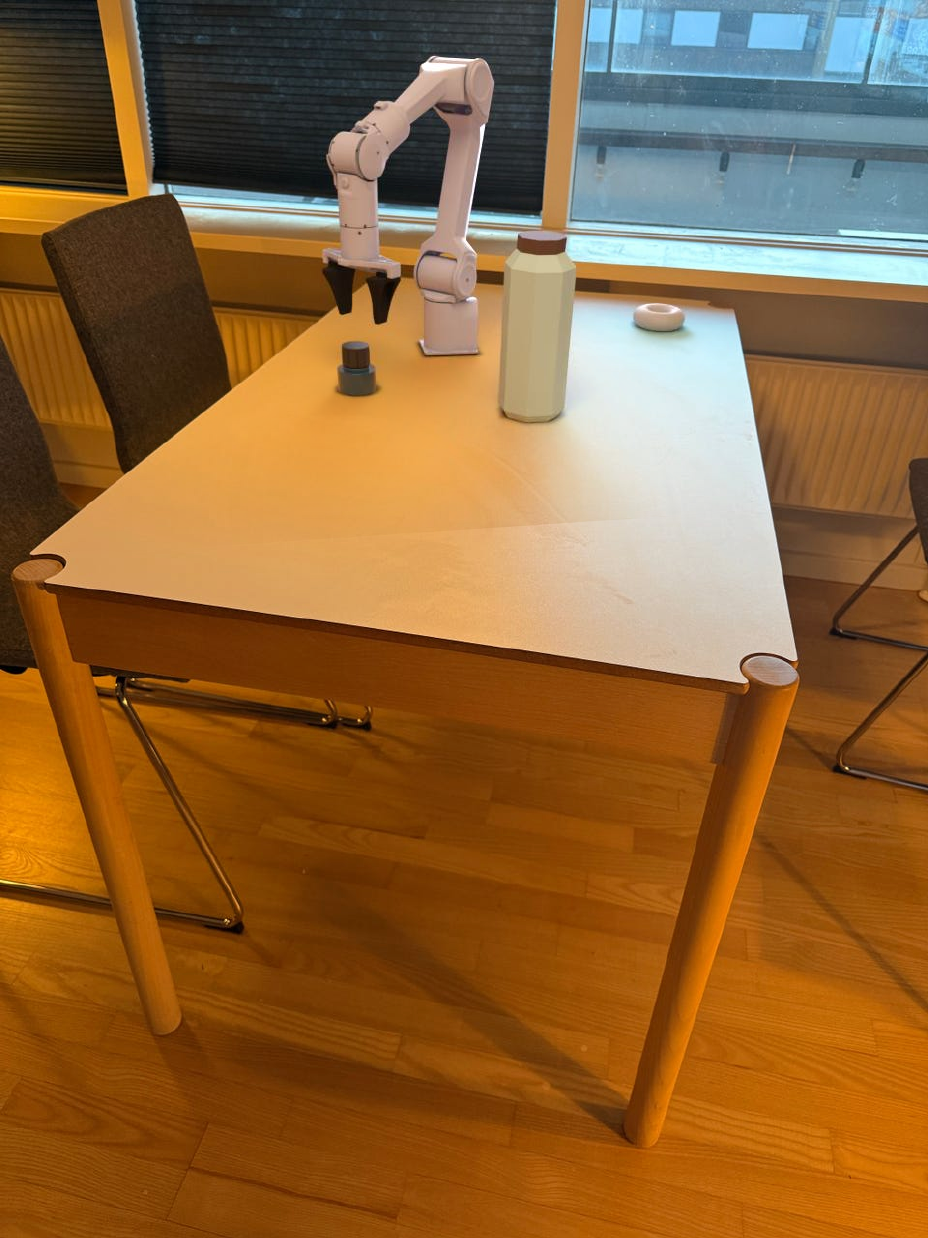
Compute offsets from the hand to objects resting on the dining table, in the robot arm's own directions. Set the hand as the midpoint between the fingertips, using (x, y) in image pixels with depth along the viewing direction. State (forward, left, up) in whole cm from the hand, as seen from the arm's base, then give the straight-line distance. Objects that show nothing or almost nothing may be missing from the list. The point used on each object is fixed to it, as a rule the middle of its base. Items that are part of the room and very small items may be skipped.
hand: (362, 318), depth 139 cm
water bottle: (-23, +17, -10) cm, 31 cm away
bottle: (+2, +4, -10) cm, 11 cm away
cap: (+2, +4, -6) cm, 7 cm away
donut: (-59, -25, -10) cm, 65 cm away
